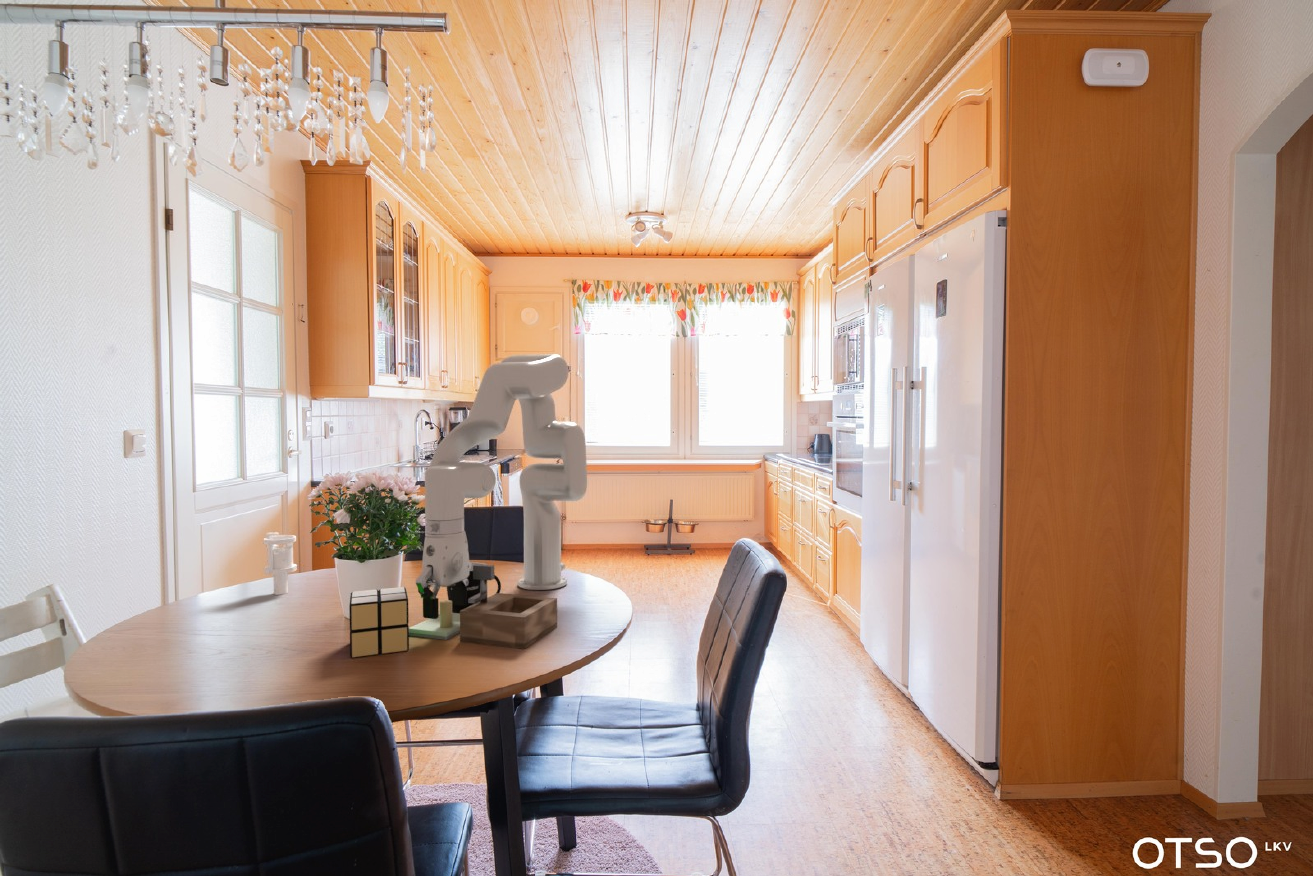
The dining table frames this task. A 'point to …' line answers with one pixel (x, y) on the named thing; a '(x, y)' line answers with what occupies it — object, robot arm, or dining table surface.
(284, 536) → the white cylindrical part
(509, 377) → the robot arm
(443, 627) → the cover
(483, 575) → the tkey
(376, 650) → the puzzle cube
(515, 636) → the case
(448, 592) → the mug
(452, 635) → the mat
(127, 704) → the dining table surface
